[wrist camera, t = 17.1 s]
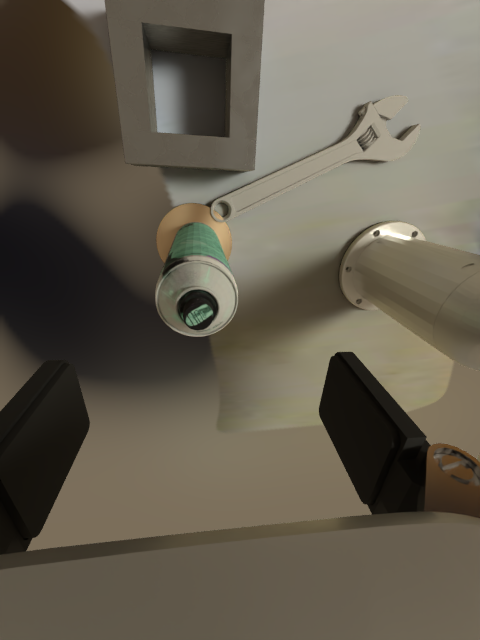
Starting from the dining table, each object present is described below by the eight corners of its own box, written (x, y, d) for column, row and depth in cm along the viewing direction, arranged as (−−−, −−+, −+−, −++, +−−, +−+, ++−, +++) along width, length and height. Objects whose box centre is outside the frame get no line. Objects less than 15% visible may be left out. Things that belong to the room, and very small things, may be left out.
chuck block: (252, 26, 26) (264, -6, 21) (246, 171, 31) (254, 170, 27) (118, 8, 24) (100, -31, 19) (135, 165, 29) (125, 162, 25)
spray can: (165, 253, 33) (131, 335, 15) (187, 212, 31) (175, 251, 14) (205, 275, 35) (215, 370, 17) (227, 237, 33) (263, 300, 16)
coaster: (232, 204, 32) (232, 205, 32) (230, 277, 36) (230, 279, 36) (153, 201, 31) (152, 202, 30) (160, 277, 35) (159, 279, 34)
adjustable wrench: (215, 225, 34) (216, 227, 32) (195, 168, 31) (194, 168, 29) (409, 152, 33) (419, 151, 31) (408, 87, 30) (419, 82, 28)
